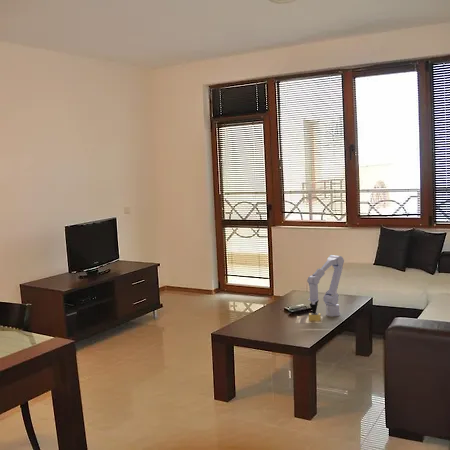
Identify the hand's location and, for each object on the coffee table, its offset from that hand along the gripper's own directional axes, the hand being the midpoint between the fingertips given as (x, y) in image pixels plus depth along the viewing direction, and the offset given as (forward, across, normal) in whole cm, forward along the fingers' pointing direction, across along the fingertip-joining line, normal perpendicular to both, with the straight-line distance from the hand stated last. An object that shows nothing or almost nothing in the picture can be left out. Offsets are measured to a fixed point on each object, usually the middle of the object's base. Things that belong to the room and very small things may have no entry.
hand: (314, 311), depth 386 cm
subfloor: (+6, 0, -4) cm, 8 cm away
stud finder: (+6, 0, 0) cm, 6 cm away
